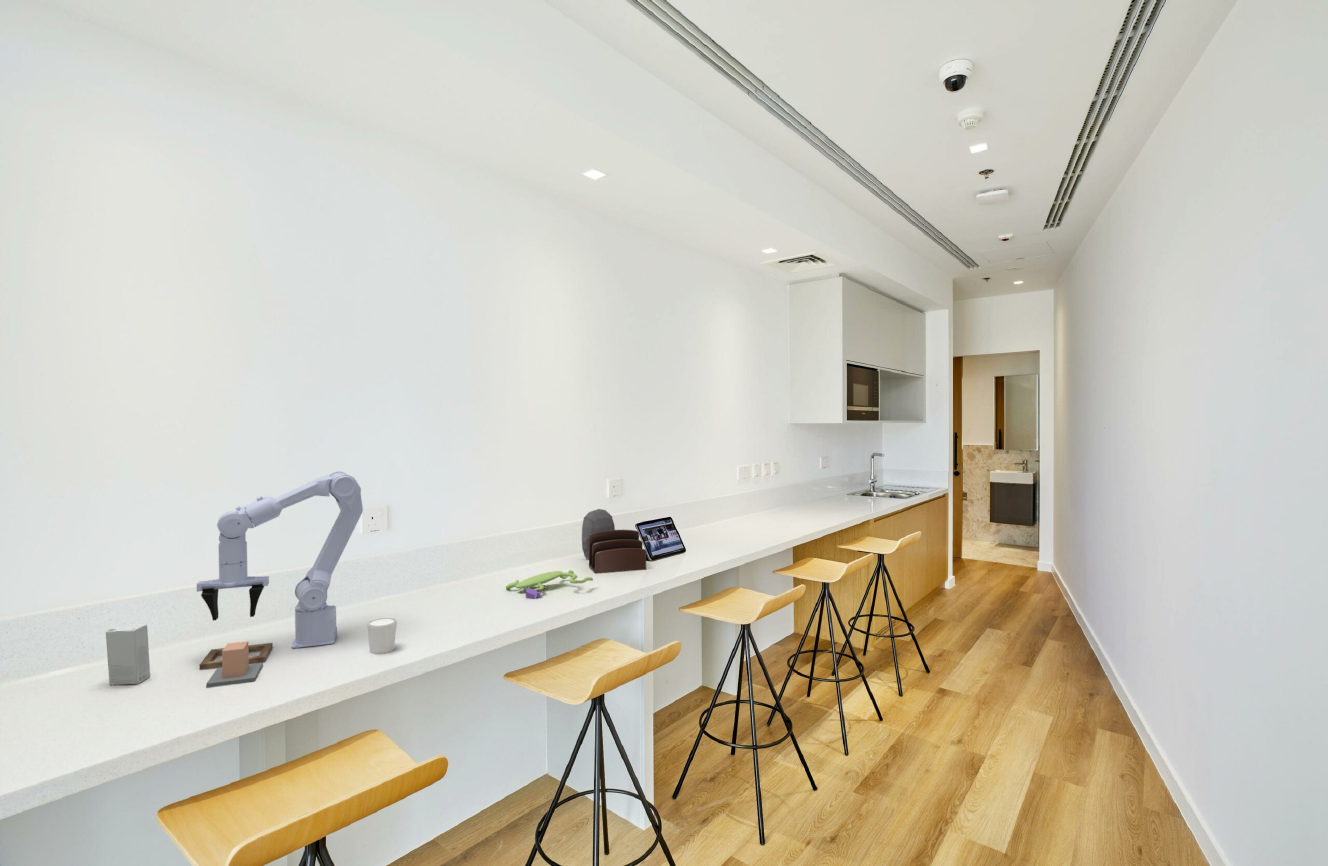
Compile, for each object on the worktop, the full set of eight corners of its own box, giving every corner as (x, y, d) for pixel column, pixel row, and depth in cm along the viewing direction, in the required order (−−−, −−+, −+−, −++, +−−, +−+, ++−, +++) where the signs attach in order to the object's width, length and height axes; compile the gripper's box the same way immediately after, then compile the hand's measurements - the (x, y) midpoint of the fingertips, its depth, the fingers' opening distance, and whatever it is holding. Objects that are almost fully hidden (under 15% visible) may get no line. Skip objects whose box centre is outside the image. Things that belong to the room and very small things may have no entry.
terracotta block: (248, 666, 150) (248, 641, 149) (243, 675, 145) (243, 648, 145) (228, 669, 148) (227, 643, 148) (222, 678, 143) (221, 651, 143)
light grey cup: (402, 647, 164) (402, 620, 164) (378, 656, 158) (378, 628, 158) (385, 642, 168) (385, 615, 167) (361, 651, 162) (360, 623, 162)
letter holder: (588, 567, 247) (588, 530, 247) (638, 563, 254) (638, 528, 254) (594, 574, 238) (595, 536, 238) (646, 570, 245) (646, 532, 244)
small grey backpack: (608, 554, 270) (608, 506, 269) (620, 557, 263) (621, 508, 262) (577, 559, 260) (577, 509, 259) (589, 563, 254) (589, 512, 253)
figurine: (596, 593, 215) (596, 576, 215) (515, 603, 203) (515, 585, 203) (578, 579, 231) (578, 564, 231) (502, 587, 220) (502, 571, 220)
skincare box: (151, 676, 146) (149, 623, 145) (137, 685, 141) (135, 630, 141) (121, 677, 145) (120, 623, 145) (106, 686, 141) (104, 630, 140)
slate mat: (263, 666, 152) (262, 662, 152) (254, 681, 144) (254, 677, 144) (217, 671, 149) (217, 668, 149) (206, 687, 140) (206, 683, 140)
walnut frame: (272, 647, 164) (272, 642, 164) (265, 662, 154) (264, 657, 154) (211, 654, 159) (211, 649, 159) (199, 669, 150) (199, 664, 150)
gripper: (192, 568, 151) (193, 626, 151) (264, 563, 156) (265, 619, 157) (200, 561, 157) (202, 616, 158) (270, 556, 163) (271, 610, 163)
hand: (234, 617), depth 158 cm, fingers open, 7 cm apart
